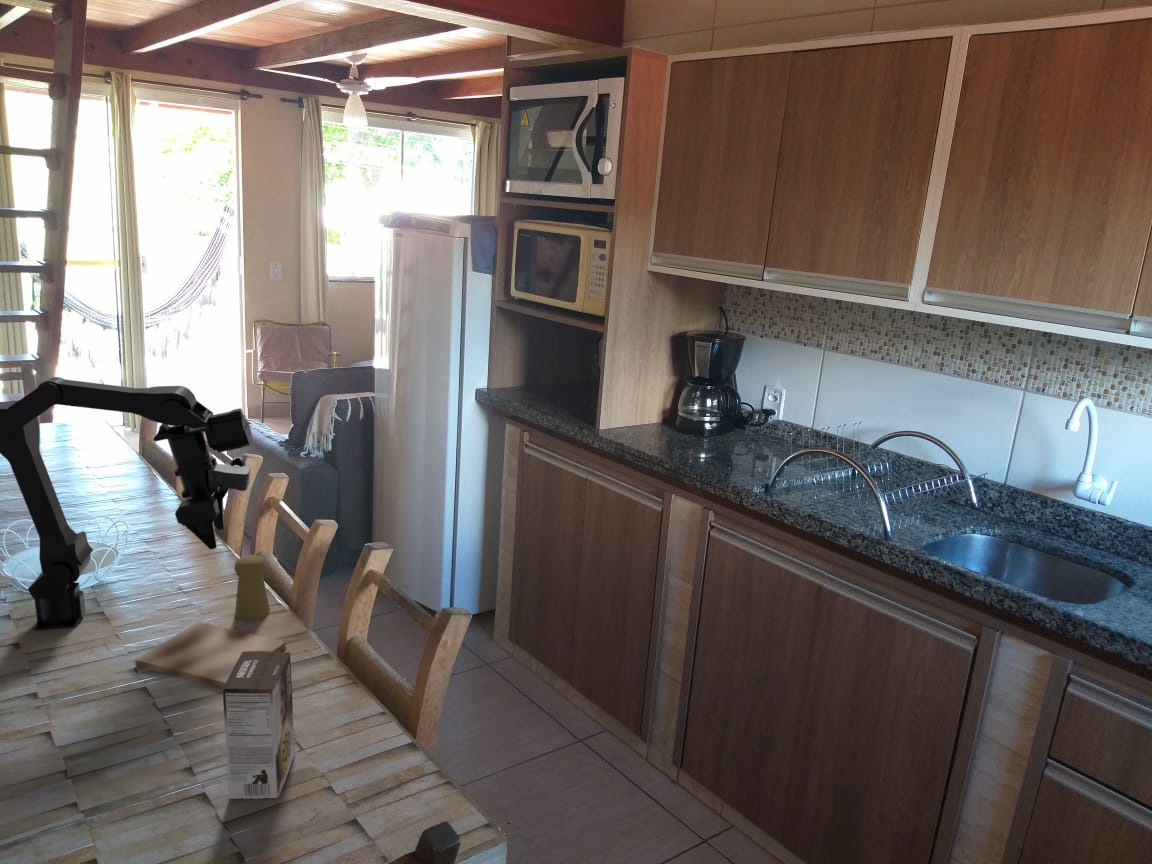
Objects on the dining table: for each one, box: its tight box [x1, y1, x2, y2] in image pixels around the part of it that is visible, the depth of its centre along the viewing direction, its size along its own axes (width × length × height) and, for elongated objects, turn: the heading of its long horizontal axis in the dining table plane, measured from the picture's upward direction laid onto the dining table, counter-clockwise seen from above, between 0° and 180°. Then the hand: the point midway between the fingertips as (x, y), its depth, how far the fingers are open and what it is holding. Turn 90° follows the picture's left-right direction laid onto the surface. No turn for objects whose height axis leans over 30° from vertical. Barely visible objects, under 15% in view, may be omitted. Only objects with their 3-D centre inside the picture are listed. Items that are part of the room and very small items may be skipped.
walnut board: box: [135, 621, 287, 690], centre depth 138 cm, size 18×14×1 cm
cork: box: [234, 554, 271, 622], centre depth 152 cm, size 6×6×11 cm
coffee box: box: [221, 651, 296, 800], centre depth 109 cm, size 9×6×16 cm
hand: (217, 538), depth 151 cm, fingers open, 9 cm apart
